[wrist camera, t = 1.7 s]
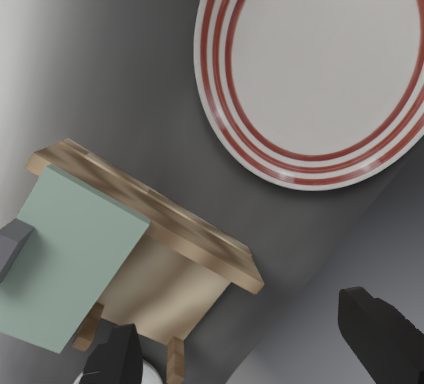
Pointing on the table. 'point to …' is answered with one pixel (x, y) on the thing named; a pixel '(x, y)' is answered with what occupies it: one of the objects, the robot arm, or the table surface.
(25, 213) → the sliding cover
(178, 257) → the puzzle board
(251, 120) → the dinner plate
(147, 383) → the spoon rest
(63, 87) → the table surface
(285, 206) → the table surface
